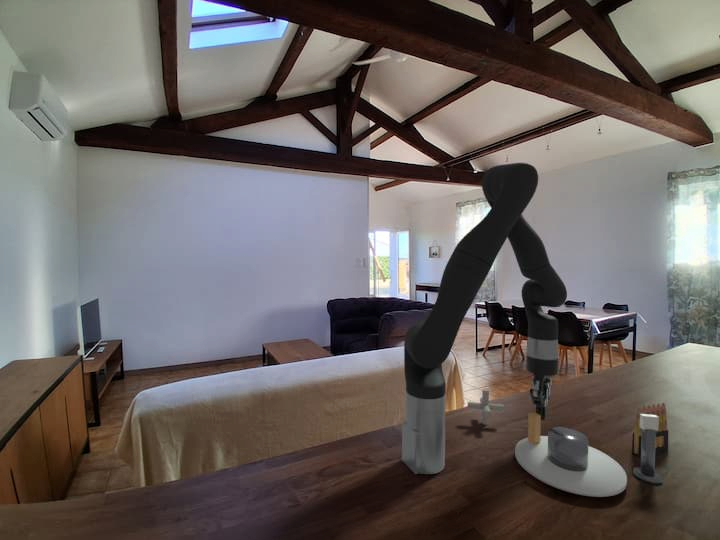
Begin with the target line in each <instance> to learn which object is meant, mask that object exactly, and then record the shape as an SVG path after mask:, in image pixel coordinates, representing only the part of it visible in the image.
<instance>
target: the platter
mask: <svg viewBox="0 0 720 540" xmlns="http://www.w3.org/2000/svg"><path fill="white" fill-rule="evenodd" d="M527 418H528V419H527V421H528V423H527V437H526V438H523V439H521V440H519V441H518V442H517V443H516V445H515V448H514V449H515V451H514V453H515V455H514V456H515V458H516V461H517V463H518V464H519V465H520V466H521V468H522V469H524V471H526V472H527V473H529V474H530V475H531V476H533V477H534V478H536V479H537V480H539V481H541V482H542V483H545V484H547V485H549V486H551V487H553V488H556V489H558V490H561V491H565V492H567V493H571V494H575V495H580V496H586V497H594V498H595V497H596V498H603V497H604V498H605V497H611V496H616V495H619V494H621V493H622V492H624V490H625V489H626V488H627V484H628V476H627V473H626V471H625V469H624V468H623V467H622V466H621V464H619V463H618V462H617V461H616V460H614V459H613V458H612V457H611V456H609V455H608V454H606V453H604V452H603V451H601V450H599V449H597V448H594V447H592V446H590V445H588V468H587V469H586V470H585V471H580V472H577V471H569V470H566V469H563V468H560V467H558V466H556V465H554V464H553V463H552V462H551V461H550V460H549V459H548V435H541V421H542V420H541V415H539V414H537V413H536V411H534V412H533V411H532V412H529V413H528V417H527Z"/></svg>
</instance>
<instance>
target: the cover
mask: <svg viewBox="0 0 720 540" xmlns="http://www.w3.org/2000/svg"><path fill="white" fill-rule="evenodd" d="M547 436H548V459H549V460H550V461H551V462H552V463H553V464H554V465H556V466H558V467H560V468H563V469H566V470H569V471H577V472H580V471H585V470H586V469H587V468H588V446H589V441H590V440H589V438H588V437H587V435H586V434H584V433H582V432H581V431H578V430H576V429H572V428H568V427H562V426H554V427H550V428H548V430H547Z"/></svg>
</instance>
